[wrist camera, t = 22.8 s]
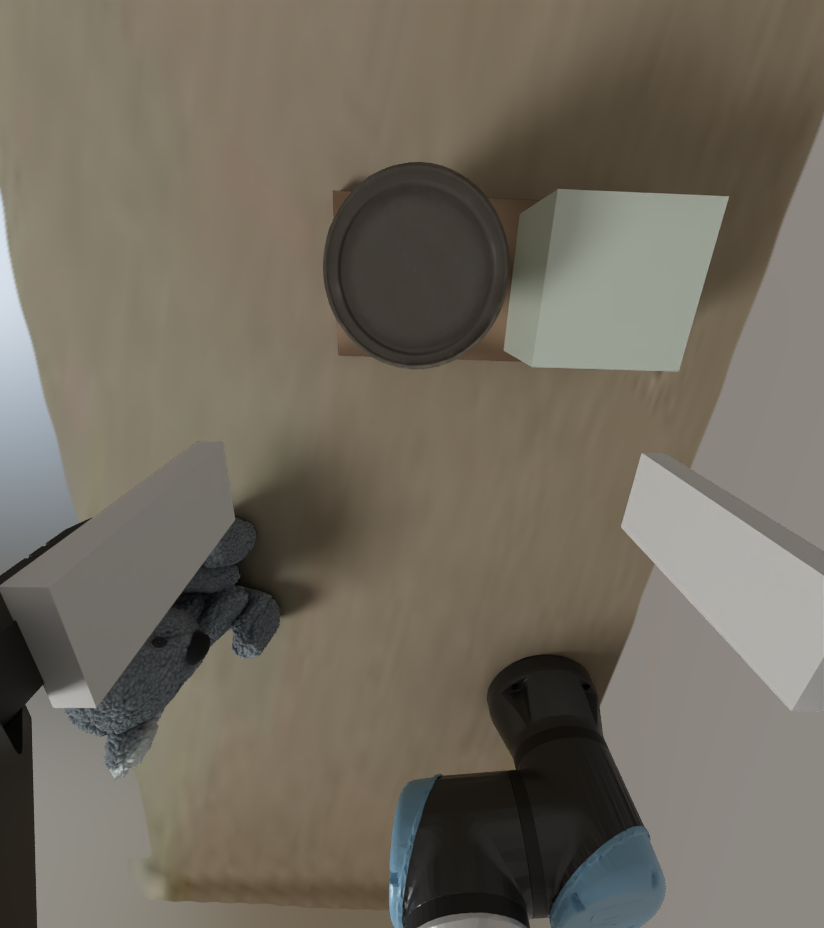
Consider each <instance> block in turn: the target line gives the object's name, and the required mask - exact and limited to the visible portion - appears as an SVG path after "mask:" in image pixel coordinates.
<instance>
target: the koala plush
mask: <svg viewBox="0 0 824 928" xmlns="http://www.w3.org/2000/svg"><path fill="white" fill-rule="evenodd" d="M253 527H254V526H253V525H251V523H249V522H248V521H245V522H244V521H243V520H241V519H240V518H235V521H234V522H233V523H232V525H231V526H230V527H229V529H228V530H227V531H226V533H225V534H224V535H223V537H222V538H221V540H220V541H219V542H218V544H217V545H216V546H215V548H214V549H213V550H212V552H211V553H210V554H209V556H208V557H207V559H206V560H205V561H204V563H203V564H202V565H201V567H200V568H199V569H198V571H197V572H196V574H195V575H194V576H193V578H192V579H191V580H190V582H189V583H188V584H187V586H186V587H185V588H184V590H183V591H182V593H181V594H180V595H179V597H178V598H177V599H176V601H175V602H174V603H173V605H172V606H171V607H170V609H169V610H168V612H167V613H166V614H165V616H164V617H163V618H162V620H161V621H160V622H159V624H158V625H157V627H156V628H155V629H154V631H153V632H152V633H151V635H150V636H149V637H148V639H147V640H146V641H145V643H144V644H143V646H142V647H141V648H140V650H139V651H138V652H137V654H136V655H135V656H134V658H133V659H132V660H131V662H130V663H129V665H128V666H127V667H126V669H125V670H124V671H123V673H122V674H121V675H120V677H119V678H118V680H117V681H116V682H115V684H114V685H113V686H112V688H111V689H110V690H109V692H108V693H107V694H106V696H105V697H104V699H103V700H102V701H101V703H100V704H99V705H98V707H97V708H64V709H65V713H66V714H69V720H70V721H71V722H72V724H74V725H75V726H76V727H77V728H79V729H81V730H82V731H85V732H86V733H89V734H94V735H96V736H104V735H107V742H106V745H105V751H106V755H105V765H106V768H107V769H110V772H111V773H112V775H113V776H114V777H115V780H116V779H117V778H120V777H121V776H123V777H124V776H125V775H126V774H127V772H128V771H129V769H131V768H132V767H133V768H136V764H138V762H140V763H142V762H141V761H142V759H143V757H144V756H145V754H146V752H147V751H148V750H149V749H150V747H151V744H152V741H153V739H154V736H155V734H156V732H157V728H158V725H157V721H158V720H159V719H160V717H161V714H162V713H163V711H164V708H165V707H166V705H167V704H168V703H169V702H170V701H171V700H172V699H173V698H174V697H175V695H176V694H177V693H178V691H179V689H180V688H181V686H182V685H183V684H184V682H186V681H187V679H188V678H190V677H191V676H192V674H193V673H194V672H195V670H196V669H197V668H198V667H199V666H200V664H201V663H202V662H203V659H204V658H205V655H206V654H207V652H208V650H209V648H210V646H212V645H213V643H215V642H216V640H218V639H219V638H220V637H221V636H222V635H223V634H224V633H225V632H226V631H227V630H230V629H233V636H234V637H233V643H232V651H233V652H234V654H236V655H238V656H239V657H241V658H248V657H250V658H252V657H255V656H256V657H258V656H260V655H261V653H262V652H263V650H264V648H265V647H266V646H267V645H268V643H269V642H270V640H271V638H272V637H273V635H274V634H275V633H276V631H277V629H278V628H279V625H280V624H279V622H280V612H279V608H278V606H277V604H276V601H275V600H272V599H271V598H272V595H269V594H267V593H265V592H261V591H259V590H256V589H251V588H247V587H242V586H236V585H235V583H237V580H238V579H240V576H241V574H239V569H238V567H237V565H235V563H238V562H239V561H241V560H242V559H243V558H245V557H246V556H247V553H248V552H249V551H251V549H252V548H253V545H254V542H255V541H256V533H255V532H256V531H255V530H254V529H253Z"/></svg>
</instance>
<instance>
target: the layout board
mask: <svg viewBox="0 0 824 928" xmlns="http://www.w3.org/2000/svg"><path fill="white" fill-rule="evenodd" d="M351 192H352V191H333V212H334V217H335V215H336V213H337V211H338V210H339V208H340V206H341V205H342V203H343V202H344V200H345V199H346V198H347V197H348V196H349V194H350V193H351ZM488 199H489V201H490V202H491V204H492V205H493V207H494V208H495V210H496V212H497V213H498V216H499V218H500V220H501V223H502V225H503V228H504V231H505V234H506V238H507V244H508V248H509V258H510V274H509V284H508V289H507V293H506V297H505V300H504V303H503V306H502V308H501V311H500V313H499V315H498V317H497V319H496V321H495V323H494V324H493V326H492V327H491V329H490V330H489V331H488V333H487V334H486V335H485V336H484V337H483V339H482V340H481V341H480V342H479V343H478V344H477V345H476V346H475V347H473V348H472V349H471V350H470V351H468V352H467V353H465V354H464V355H463V356H461V357H459V358H457V359H461V360H490V361H520V362H522V361H521V360H519V359H517V358H515V357H514V356H512V355H510V354H509V353H507V352H505V351H504V343H505V335H506V326H507V318H508V309H509V301H510V292H511V284H512V275H513V267H514V258H515V250H516V241H517V233H518V224H519V216H520V214H521V213H522V212H524V211H525V210H527V209H528V208H530V207H531V206H533V205H534V204H536V203H537V202H539V201H540V200H523V199H501V198H488ZM337 327H338V355H341V356H370V355H368V354H367V353H365V352H364V351H363V350H362V349H360V348H359V347H358V346H357V345H356V344H355V343H354V342H353V341H352V340H351V339H350V338H349V337H348V336H347V335H346V333H345V332H344V331H343V329H342V328H341V326H340V325H339V323H338V321H337Z"/></svg>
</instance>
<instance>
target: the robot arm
mask: <svg viewBox="0 0 824 928" xmlns="http://www.w3.org/2000/svg"><path fill="white" fill-rule="evenodd" d="M234 521H235V514H234V508H233V502H232V495H231V489H230V483H229V476H228V470H227V464H226V457H225V451H224V445H223V442H211V441H197V442H196V443H195V444H193V445H192V446H190V447H189V448H188V449H186V450H185V451H184V452H182V453H181V454H179V455H178V456H177V457H175V458H174V459H173V460H171V461H170V462H168V463H167V464H166V465H164V466H163V467H162V468H160V469H159V470H157V471H156V472H155V473H153V474H152V475H151V476H149V477H148V478H147V479H145V480H144V481H142V482H141V483H140V484H138V485H137V486H136V487H134V488H133V489H131V490H130V491H129V492H127V493H126V494H125V495H123V496H122V497H120V498H119V499H118V500H116V501H115V502H114V503H112V504H111V505H109V506H108V507H107V508H105V509H104V510H103V511H101V512H100V513H98V514H97V515H96V516H94V517H93V518H90V519H88V520H85V521H83V522H81V523H79V524H77V525H74V526H72V527H70V528H68V529H66V530H64V531H63V532H61V533H60V534H59V535H57V536H56V537H54V538H53V539H51V540H50V541H49V542H47V543H46V546H42V547H40V548H39V549H37V550H36V551H34V552H33V553H32V554H30V555H29V558H28V559H26V558H25V559H23V560H22V561H20V562H19V563H17V564H16V565H15V566H13V567H12V568H10V569H9V570H7V571H6V572H5V573H3V574H2V575H1V576H0V928H37V910H36V873H35V835H34V798H33V760H32V722H31V716H30V714H29V712H28V710H27V707H26V705H25V704H26V703H27V702H28V700H29V699H30V698H31V697H32V696H33V695H34V694H35V693H36V691H38V690H39V688H40V687H41V686H42V685H43V686H44V688H45V690H46V693H47V695H48V697H49V699H50V701H51V703H52V706H53V708H97V707H98V705H99V704H100V703H101V701H102V700H103V699H104V697H105V696H106V694H107V693H108V692H109V690H110V689H111V688H112V686H113V685H114V684H115V682H116V681H117V680H118V678H119V677H120V675H121V674H122V673H123V671H124V670H125V669H126V667H127V666H128V665H129V663H130V662H131V660H132V659H133V658H134V656H135V655H136V654H137V652H138V651H139V650H140V648H141V647H142V646H143V644H144V643H145V641H146V640H147V639H148V637H149V636H150V635H151V633H152V632H153V631H154V629H155V628H156V627H157V625H158V624H159V622H160V621H161V620H162V618H163V617H164V616H165V614H166V613H167V612H168V610H169V609H170V607H171V606H172V605H173V603H174V602H175V601H176V599H177V598H178V597H179V595H180V594H181V593H182V591H183V590H184V588H185V587H186V586H187V584H188V583H189V582H190V580H191V579H192V578H193V576H194V575H195V574H196V572H197V571H198V569H199V568H200V567H201V565H202V564H203V563H204V561H205V560H206V559H207V557H208V556H209V554H210V553H211V552H212V550H213V549H214V548H215V546H216V545H217V544H218V542H219V541H220V540H221V538H222V537H223V535H224V534H225V533H226V531H227V530H228V529H229V527H230V526H231V525H232V523H233V522H234ZM621 528H622V529H623V530H624V531H625V532H626V533H627V534H628V535H629V536H630V537H631V538H632V540H633V541H634V542H635V543H636V544H637V545H638V546H639V547H640V548H641V549H642V550H643V551H644V553H645V554H646V555H647V556H648V557H649V558H650V559H651V560H652V561H653V562H654V563H655V564H656V565H657V567H658V568H659V569H660V570H661V571H662V572H663V573H664V574H665V575H666V576H667V577H668V578H669V579H670V581H671V582H672V583H673V584H674V585H675V586H676V587H677V588H678V589H679V590H680V591H681V592H682V594H684V596H685V597H686V598H687V599H688V600H689V601H690V602H691V603H692V604H693V605H694V606H695V608H696V609H697V610H698V611H699V612H700V613H701V614H702V615H703V616H704V617H705V618H706V619H707V621H708V622H709V623H710V624H711V625H712V626H713V627H714V628H715V629H716V630H717V631H718V632H719V633H720V635H721V636H722V637H723V638H724V639H725V640H726V641H727V642H728V643H729V644H730V645H731V646H732V648H733V649H734V650H735V651H736V652H737V653H738V654H739V655H740V656H741V657H742V658H743V659H744V660H745V662H746V663H747V664H748V665H749V666H750V667H751V668H752V669H753V670H754V671H755V672H756V673H757V675H758V676H759V677H760V678H761V679H762V680H763V681H764V682H765V683H766V684H767V685H768V686H769V688H770V689H771V690H772V691H773V692H774V693H775V694H776V695H777V696H778V697H779V698H780V699H781V701H782V702H783V703H784V704H785V705H786V706H787V707H788V708H789V709H790V710H791V711H824V551H822V550H821V549H819V548H818V547H816V546H815V545H813V544H811V543H809V542H808V541H806V540H805V539H803V538H802V537H800V536H798V535H797V534H795V533H793V532H792V531H790V530H789V529H787V528H785V527H784V526H782V525H781V524H779V523H777V522H776V521H774V520H772V519H771V518H769V517H768V516H766V515H764V514H763V513H761V512H759V511H758V510H756V509H754V508H753V507H751V506H750V505H748V504H746V503H745V502H743V501H742V500H740V499H738V498H737V497H735V496H734V495H732V494H730V493H729V492H727V491H725V490H724V489H722V488H720V487H719V486H717V485H716V484H714V483H712V482H711V481H709V480H707V479H706V478H704V477H703V476H701V475H699V474H698V473H696V472H694V471H693V470H691V469H690V468H688V467H686V466H685V465H683V464H682V463H680V462H678V461H677V460H675V459H674V458H672V457H670V456H669V455H667V454H665V453H642V454H641V457H640V461H639V464H638V468H637V472H636V475H635V479H634V482H633V486H632V490H631V493H630V497H629V500H628V504H627V508H626V511H625V515H624V518H623V522H622V525H621ZM487 701H488V706H489V711H490V716H491V719H492V721H493V724H494V725H495V727H496V729H497V731H498V732H499V734H500V736H501V738H502V739H503V741H504V743H505V745H506V747H507V748H508V750H509V752H510V754H511V755H512V757H513V759H514V763H515V768H516V770H509V771H495V772H483V773H471V774H459V775H447V776H443V775H442V774H437V775H435V776H434V777H431V778H424V779H417V780H413V781H410V782H409V783H408V784H407V785H406V786H405V787H404V788H403V790H402V792H401V794H400V796H399V799H398V803H397V807H396V812H395V818H394V824H393V832H392V841H391V853H390V871H391V874H390V884H389V907H390V916H391V921H392V923H393V925H394V927H395V928H530V925H529V919H533V918H550V924H551V927H552V928H639V927H641V926H642V925H643V924H645V923H646V922H648V921H649V920H650V919H651V918H652V917H653V916H654V915H655V914H656V913H657V911H658V910H659V909H660V907H661V905H662V903H663V900H664V897H665V890H666V886H665V879H664V875H663V872H662V869H661V867H660V865H659V862H658V860H657V857H656V855H655V852H654V850H653V847H652V845H651V842H650V835H649V833H648V831H647V829H646V828H645V827H644V825H643V823H642V821H641V819H640V816H639V814H638V812H637V810H636V808H635V806H634V803H633V801H632V799H631V797H630V795H629V792H628V790H627V788H626V786H625V784H624V781H623V779H622V777H621V775H620V773H619V770H618V768H617V766H616V764H615V762H614V759H613V757H612V755H611V753H610V751H609V749H608V746H607V744H606V742H605V740H604V737H603V732H602V723H601V715H600V708H599V700H598V694H597V691H596V688H595V686H594V684H593V682H592V680H591V678H590V676H589V674H588V672H587V671H586V670H585V669H584V668H583V667H582V666H581V665H579V664H578V663H576V662H574V661H572V660H570V659H567V658H563V657H558V656H537V657H531V658H527V659H524V660H521V661H518V662H516V663H514V664H512V665H510V666H508V667H507V668H505V669H504V670H503V671H501V672H500V673H499V674H498V675H497V676H496V677H495V679H494V680H493V681H492V683H491V685H490V687H489V690H488V694H487Z"/></svg>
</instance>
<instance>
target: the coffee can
mask: <svg viewBox="0 0 824 928" xmlns="http://www.w3.org/2000/svg"><path fill="white" fill-rule="evenodd" d="M323 274H324V284H325V290H326V294H327V297H328V301H329V304H330V307H331V309H332V311H333V314H334V315H335V317H336V319H337V321H338V323H339V325H340V326H341V328H342V329H343V331H344V332H345V333H346V335H347V336H348V337H349V338H350V339H351V340H352V341H353V342H354V343H355V344H356V345H357V346H358V347H359V348H360V349H362V350H363V351H364V352H365V353H367V354H368V355H370V356H371V357H373V358H375V359H377V360H379V361H381V362H383V363H386V364H388V365H391V366H395V367H399V368H407V369H426V368H432V367H437V366H440V365H443V364H446V363H449V362H451V361H454V360H456V359H457V358H459V357H461V356H463V355H464V354H465V353H467V352H468V351H470V350H471V349H472V348H473V347H475V346H476V345H477V344H478V343H479V342H480V341H481V340H482V339H483V337H484V336H485V335H486V334H487V333H488V331H489V330H490V329H491V327H492V326H493V324H494V323H495V321H496V319H497V317H498V315H499V313H500V311H501V308H502V306H503V303H504V300H505V297H506V293H507V289H508V284H509V274H510V258H509V248H508V244H507V238H506V234H505V231H504V228H503V225H502V223H501V220H500V218H499V216H498V213H497V212H496V210H495V208H494V207H493V205H492V204H491V202H490V201H489V199H488V198H487V197H486V196H485V194H484V193H483V192H482V191H481V190H480V189H479V188H478V187H477V186H476V185H475V184H473V183H472V182H471V181H470V180H468V179H467V178H465V177H464V176H463V175H461V174H459V173H457V172H455V171H453V170H451V169H449V168H446V167H444V166H441V165H437V164H433V163H425V162H410V163H404V164H398V165H394V166H391V167H388V168H385V169H383V170H380V171H378V172H376V173H375V174H373V175H371V176H369V177H368V178H367V179H365V180H364V181H363V182H361V183H360V184H359V185H358V186H357V187H356V188H355V189H354V190H353V191H352V192H351V193H350V194H349V196H348V197H347V198H346V199H345V200H344V202H343V203H342V205H341V206H340V208H339V210H338V211H337V213H336V215H335V217H334V219H333V222H332V224H331V226H330V228H329V231H328V235H327V239H326V244H325V249H324V257H323Z"/></svg>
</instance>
